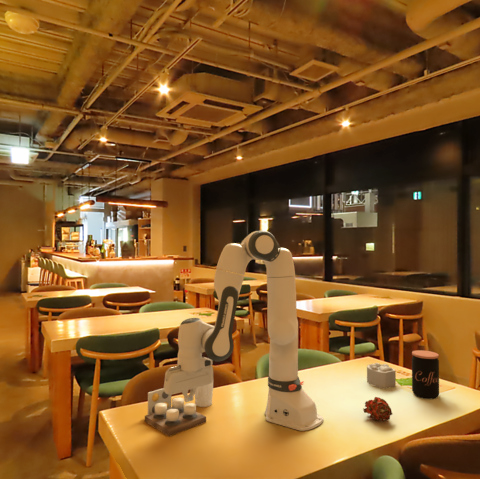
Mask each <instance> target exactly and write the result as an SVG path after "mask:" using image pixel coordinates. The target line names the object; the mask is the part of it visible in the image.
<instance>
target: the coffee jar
mask: <svg viewBox="0 0 480 479" xmlns="http://www.w3.org/2000/svg"><path fill="white" fill-rule="evenodd" d="M411 355H412V358H411V380H412V381H411V391H412V393H413V394H414V396H416V397H417V398H422V399H427V400H434V399H438V397H439V396H440V361H439V356H440V354H438V353H437V352H434V351H429V350H422V349H420V350H419V349H418V350H412V352H411Z"/></svg>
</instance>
